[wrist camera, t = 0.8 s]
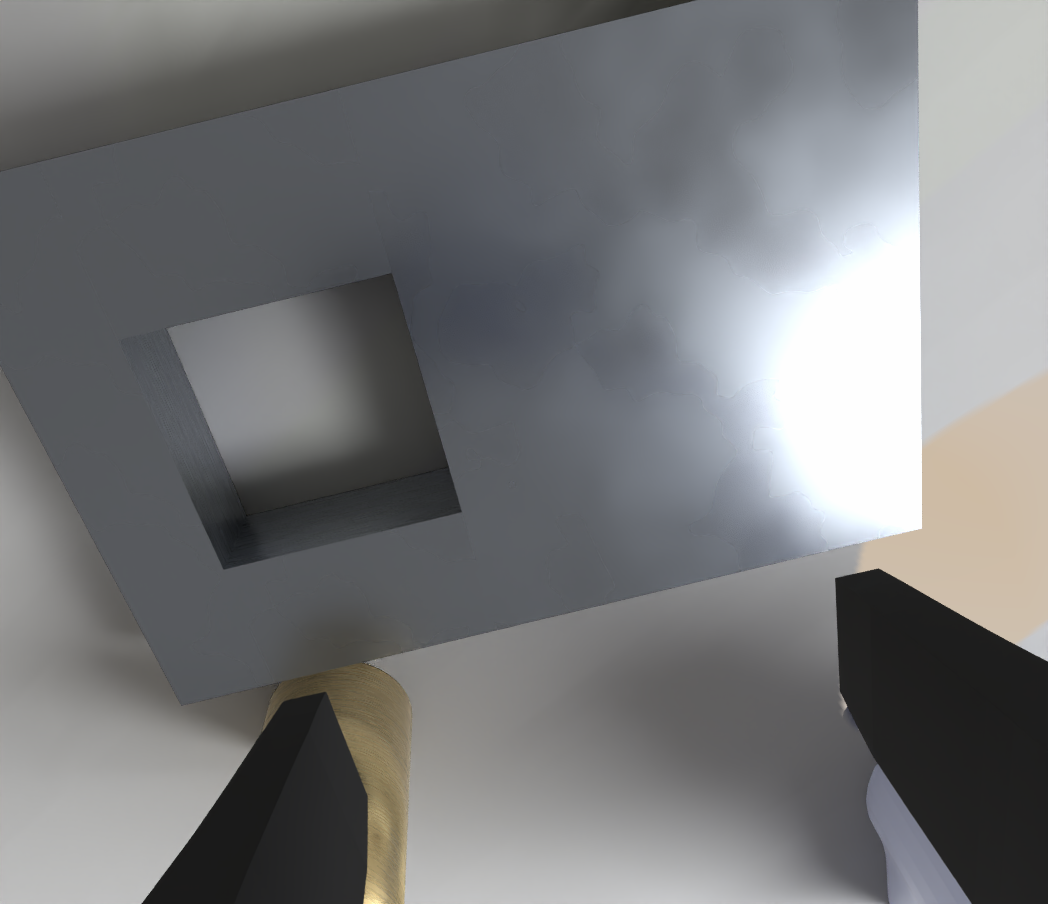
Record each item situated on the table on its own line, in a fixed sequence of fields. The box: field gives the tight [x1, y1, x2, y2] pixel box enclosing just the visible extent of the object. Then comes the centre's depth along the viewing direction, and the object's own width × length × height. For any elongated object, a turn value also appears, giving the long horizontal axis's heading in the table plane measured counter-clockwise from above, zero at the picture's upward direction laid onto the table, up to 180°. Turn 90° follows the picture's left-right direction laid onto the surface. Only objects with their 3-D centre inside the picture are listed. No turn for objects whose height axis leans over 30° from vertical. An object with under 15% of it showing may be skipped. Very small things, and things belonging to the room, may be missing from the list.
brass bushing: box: [261, 663, 412, 904], centre depth 20 cm, size 4×4×7 cm
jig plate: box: [0, 0, 922, 706], centre depth 18 cm, size 12×18×2 cm, turn 102°
